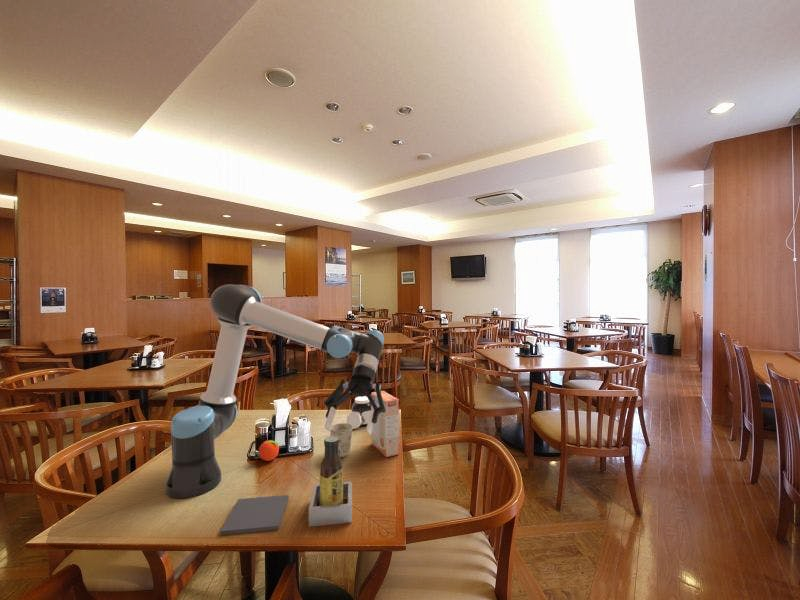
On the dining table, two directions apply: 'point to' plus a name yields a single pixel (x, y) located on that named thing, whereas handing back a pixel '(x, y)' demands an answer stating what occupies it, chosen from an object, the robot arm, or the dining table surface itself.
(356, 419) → the spread jar
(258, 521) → the rubber mat
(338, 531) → the dining table surface
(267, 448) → the clementine
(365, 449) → the dining table surface
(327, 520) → the grey shallow open box
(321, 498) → the sauce bottle
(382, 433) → the cracker box
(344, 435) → the mug
